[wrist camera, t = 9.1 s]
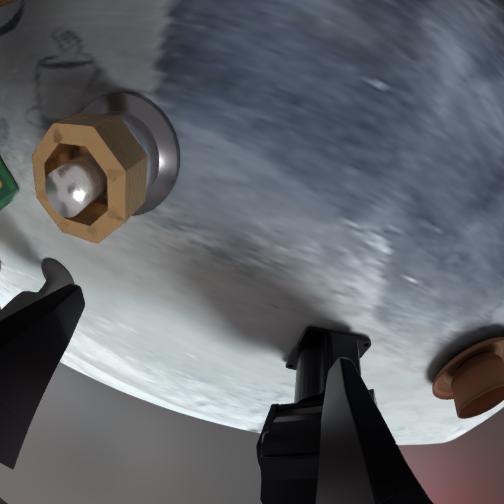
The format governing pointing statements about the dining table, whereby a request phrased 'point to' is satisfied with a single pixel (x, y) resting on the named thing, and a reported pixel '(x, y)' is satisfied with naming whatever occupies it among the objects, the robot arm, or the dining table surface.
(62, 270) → the sundae
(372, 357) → the dining table surface
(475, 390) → the cup and saucer
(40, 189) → the ring
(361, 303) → the dining table surface
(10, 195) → the coffee box
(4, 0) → the plant pot
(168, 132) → the silver flanged knob
